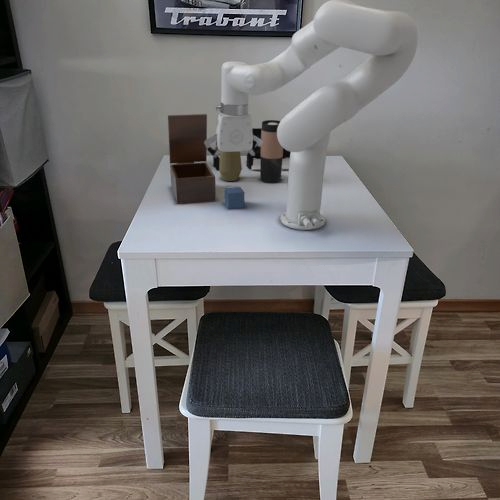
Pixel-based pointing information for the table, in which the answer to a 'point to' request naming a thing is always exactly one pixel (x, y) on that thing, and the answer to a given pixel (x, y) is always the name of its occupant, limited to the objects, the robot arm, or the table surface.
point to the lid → (187, 138)
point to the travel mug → (271, 152)
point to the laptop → (258, 154)
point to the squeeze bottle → (230, 165)
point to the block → (234, 197)
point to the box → (192, 182)
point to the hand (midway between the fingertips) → (233, 168)
